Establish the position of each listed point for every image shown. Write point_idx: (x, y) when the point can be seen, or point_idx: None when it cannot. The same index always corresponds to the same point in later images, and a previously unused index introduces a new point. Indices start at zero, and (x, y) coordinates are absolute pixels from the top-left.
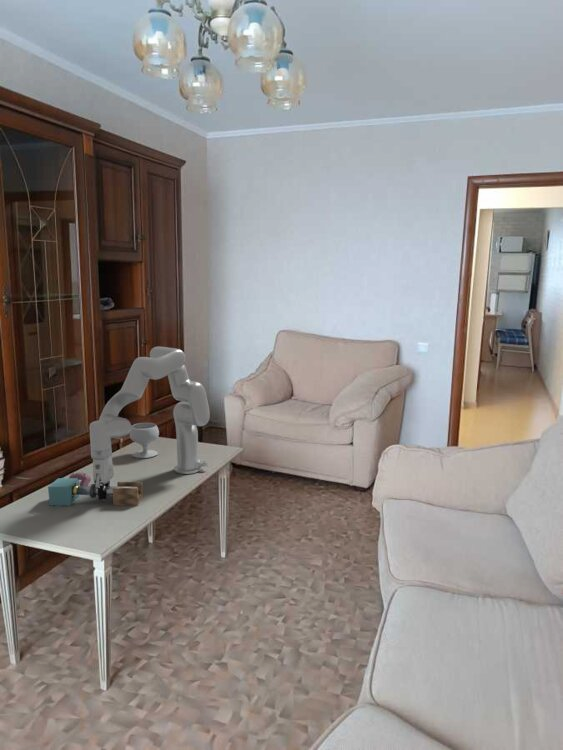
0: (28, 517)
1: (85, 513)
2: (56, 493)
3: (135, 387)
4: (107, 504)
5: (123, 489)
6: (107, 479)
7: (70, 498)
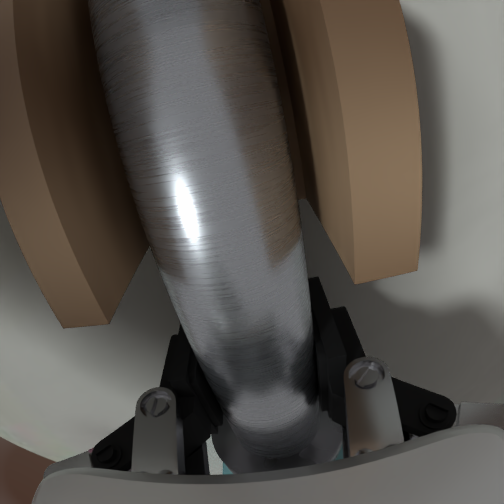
0: None
1: (460, 300)
2: None
3: None
4: (316, 237)
5: (390, 17)
6: (447, 497)
7: None
